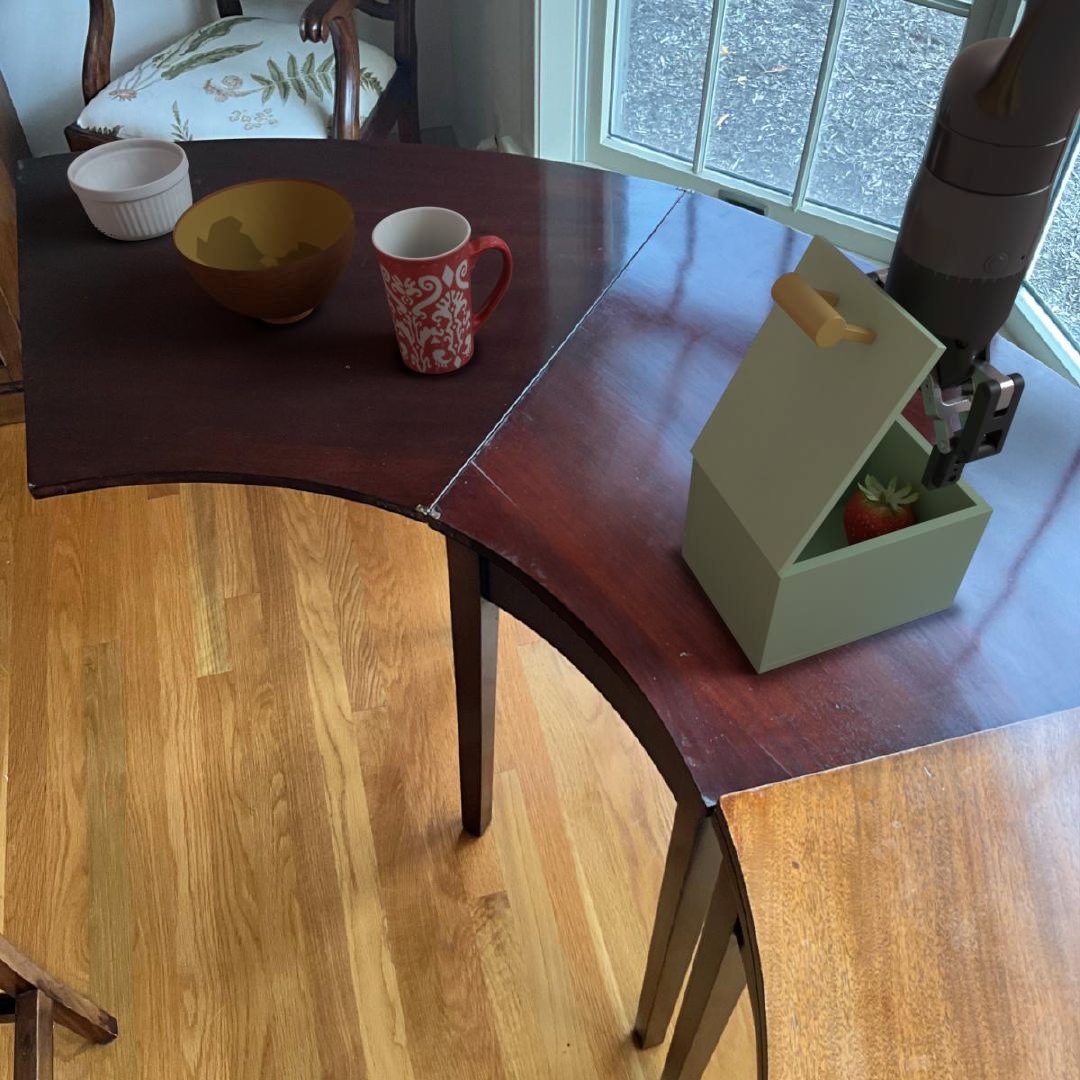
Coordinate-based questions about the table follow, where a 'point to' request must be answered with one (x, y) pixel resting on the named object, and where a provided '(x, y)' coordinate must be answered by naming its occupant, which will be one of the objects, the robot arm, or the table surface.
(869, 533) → the fruit
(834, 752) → the table surface
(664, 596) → the table surface
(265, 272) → the bowl
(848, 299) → the lid
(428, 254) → the mug
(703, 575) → the chest
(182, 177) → the ramekin
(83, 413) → the table surface
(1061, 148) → the robot arm
